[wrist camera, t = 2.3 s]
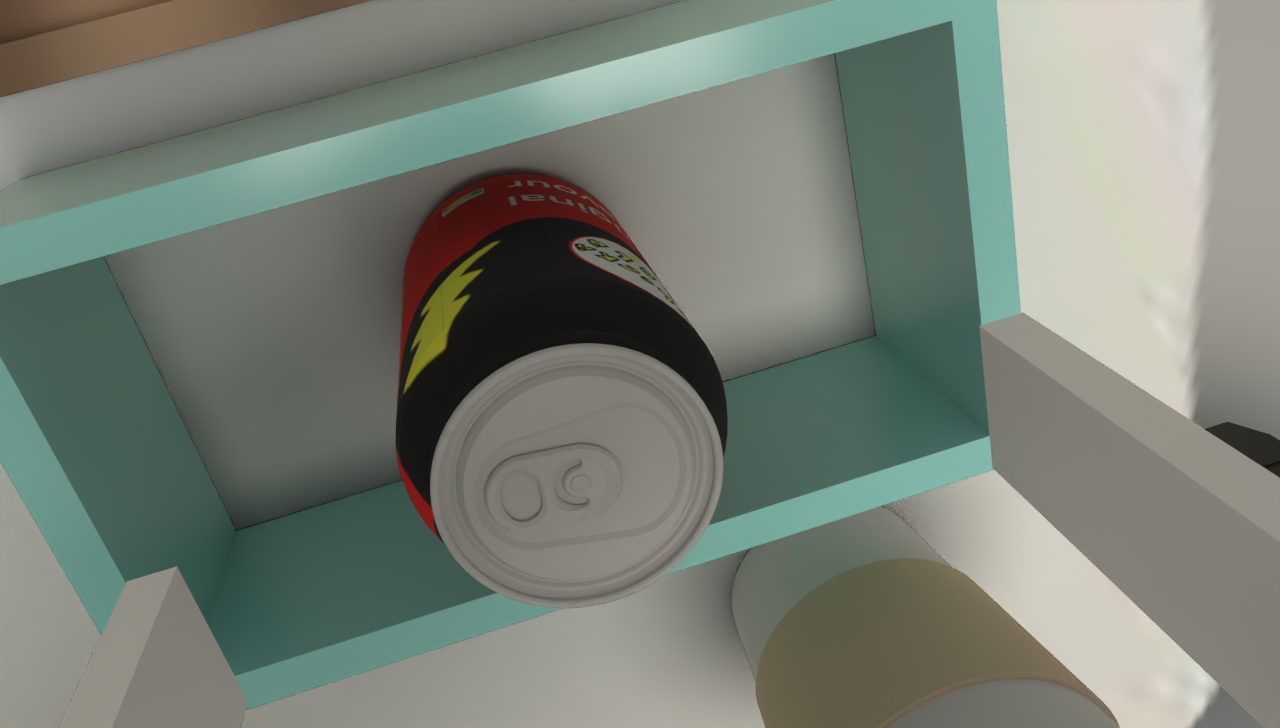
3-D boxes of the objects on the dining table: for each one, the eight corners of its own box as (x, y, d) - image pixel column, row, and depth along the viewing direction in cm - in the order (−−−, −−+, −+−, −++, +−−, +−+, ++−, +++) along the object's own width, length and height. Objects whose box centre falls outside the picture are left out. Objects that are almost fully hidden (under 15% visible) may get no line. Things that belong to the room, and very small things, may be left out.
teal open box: (216, 568, 30) (161, 737, 23) (19, 179, 25) (-117, 260, 18) (909, 354, 32) (1031, 457, 25) (857, -46, 27) (993, -44, 20)
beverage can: (644, 355, 30) (772, 589, 19) (433, 402, 29) (441, 673, 18) (610, 145, 27) (736, 276, 17) (378, 189, 27) (349, 358, 16)
